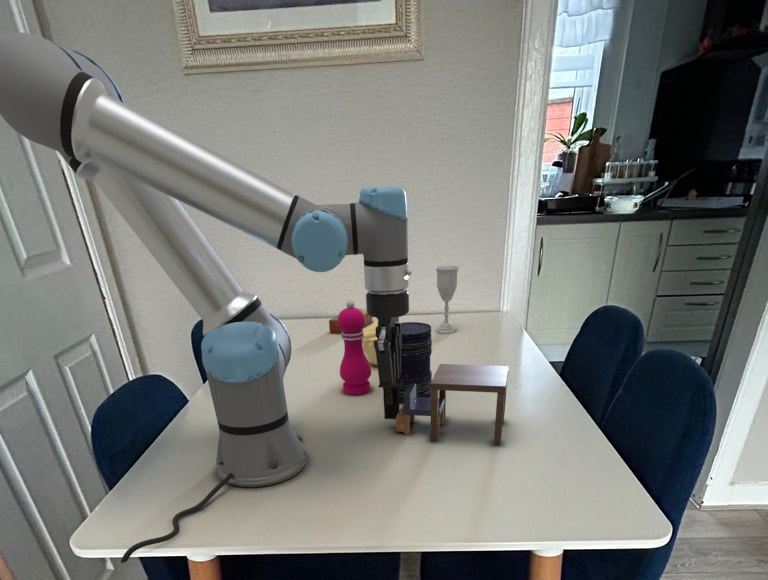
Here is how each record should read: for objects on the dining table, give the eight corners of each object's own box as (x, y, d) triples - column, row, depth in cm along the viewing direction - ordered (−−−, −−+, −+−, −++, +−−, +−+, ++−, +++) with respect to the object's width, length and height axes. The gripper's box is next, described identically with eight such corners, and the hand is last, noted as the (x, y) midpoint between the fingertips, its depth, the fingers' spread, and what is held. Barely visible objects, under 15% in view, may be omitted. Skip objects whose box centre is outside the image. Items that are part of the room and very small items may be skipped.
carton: (373, 322, 180) (372, 308, 177) (353, 334, 167) (352, 320, 165) (350, 320, 182) (349, 307, 180) (329, 333, 170) (328, 319, 168)
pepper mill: (368, 396, 122) (362, 303, 111) (337, 395, 123) (328, 304, 112) (375, 385, 128) (370, 296, 117) (345, 384, 129) (338, 296, 118)
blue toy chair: (396, 433, 104) (394, 394, 100) (403, 420, 109) (402, 382, 105) (439, 436, 102) (439, 396, 98) (444, 423, 107) (444, 384, 103)
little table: (500, 445, 98) (505, 386, 92) (430, 441, 101) (430, 383, 95) (504, 421, 107) (508, 366, 101) (439, 418, 110) (439, 363, 103)
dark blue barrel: (435, 389, 123) (436, 322, 115) (427, 405, 116) (426, 334, 107) (394, 387, 126) (391, 321, 118) (382, 402, 118) (379, 333, 110)
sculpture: (359, 369, 138) (356, 326, 132) (371, 355, 148) (369, 314, 142) (402, 370, 136) (401, 327, 130) (412, 356, 145) (411, 315, 140)
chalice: (431, 329, 168) (431, 267, 159) (451, 326, 170) (452, 264, 160) (440, 335, 162) (441, 270, 153) (461, 332, 164) (463, 268, 154)
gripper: (400, 298, 87) (403, 432, 100) (415, 283, 98) (417, 406, 110) (355, 298, 89) (365, 430, 102) (375, 283, 99) (381, 404, 112)
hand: (392, 417), depth 106 cm, fingers closed
